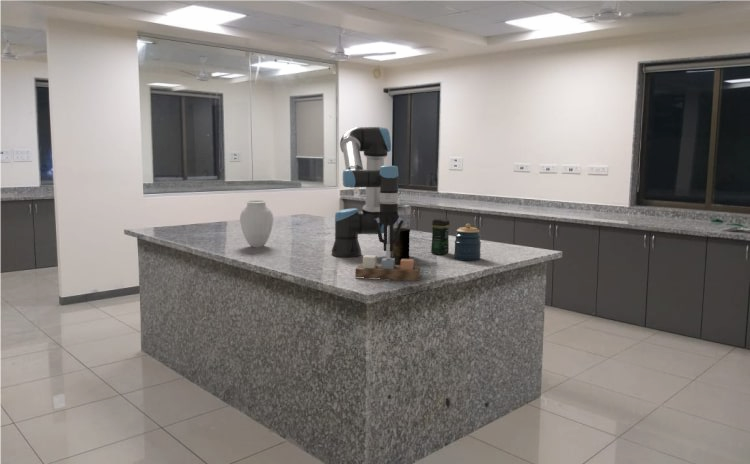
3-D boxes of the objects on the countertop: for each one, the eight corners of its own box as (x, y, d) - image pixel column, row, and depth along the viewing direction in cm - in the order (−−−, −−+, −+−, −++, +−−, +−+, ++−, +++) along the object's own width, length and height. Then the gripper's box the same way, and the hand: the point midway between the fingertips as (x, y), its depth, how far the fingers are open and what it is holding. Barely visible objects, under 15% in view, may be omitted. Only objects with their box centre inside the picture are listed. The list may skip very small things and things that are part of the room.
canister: (464, 255, 294) (465, 221, 292) (485, 258, 285) (487, 223, 282) (448, 258, 285) (449, 223, 282) (470, 262, 276) (471, 225, 273)
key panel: (355, 278, 240) (355, 268, 239) (360, 272, 251) (360, 263, 250) (417, 280, 236) (417, 271, 235) (419, 275, 247) (420, 266, 246)
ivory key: (362, 271, 242) (362, 257, 241) (364, 268, 247) (364, 255, 246) (374, 271, 241) (374, 257, 240) (376, 269, 246) (376, 255, 245)
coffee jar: (442, 255, 293) (443, 219, 290) (428, 254, 297) (429, 218, 294) (451, 252, 301) (452, 217, 298) (437, 251, 305) (438, 216, 302)
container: (389, 266, 265) (389, 227, 263) (408, 265, 266) (409, 227, 264) (391, 270, 256) (392, 230, 254) (411, 270, 257) (412, 230, 255)
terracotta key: (400, 275, 240) (400, 260, 239) (401, 272, 245) (401, 258, 244) (412, 275, 239) (412, 261, 238) (413, 273, 244) (413, 259, 243)
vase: (270, 249, 307) (269, 203, 303) (237, 249, 307) (235, 202, 303) (276, 244, 324) (275, 200, 321) (245, 243, 324) (243, 199, 321)
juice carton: (411, 255, 293) (413, 202, 289) (397, 258, 286) (400, 204, 281) (397, 252, 299) (400, 200, 294) (384, 254, 291) (386, 202, 287)
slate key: (381, 274, 241) (381, 260, 240) (383, 271, 246) (383, 258, 245) (393, 274, 240) (393, 260, 239) (394, 272, 245) (394, 258, 244)
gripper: (371, 203, 236) (371, 259, 239) (403, 204, 234) (402, 261, 237) (374, 201, 243) (374, 256, 247) (405, 202, 241) (404, 257, 245)
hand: (388, 258), depth 242 cm, fingers closed
